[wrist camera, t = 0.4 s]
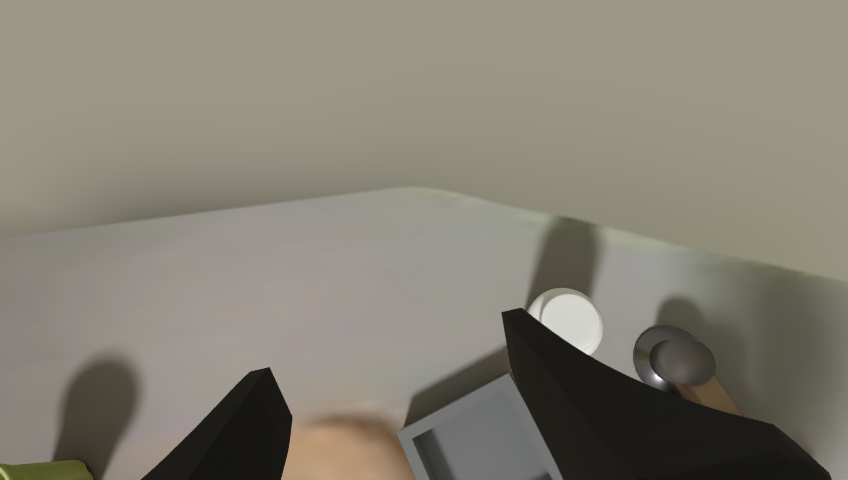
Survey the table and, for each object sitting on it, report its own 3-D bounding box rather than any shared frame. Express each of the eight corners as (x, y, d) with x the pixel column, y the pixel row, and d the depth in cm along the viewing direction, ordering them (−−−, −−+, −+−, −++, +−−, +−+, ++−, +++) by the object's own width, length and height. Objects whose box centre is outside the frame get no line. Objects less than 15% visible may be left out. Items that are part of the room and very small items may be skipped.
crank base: (723, 377, 34) (724, 377, 34) (661, 410, 34) (662, 410, 34) (678, 314, 36) (679, 314, 36) (619, 345, 36) (619, 345, 36)
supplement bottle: (593, 324, 37) (629, 313, 28) (559, 374, 36) (584, 380, 27) (541, 289, 39) (558, 266, 29) (508, 335, 38) (513, 328, 28)
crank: (633, 355, 36) (647, 355, 32) (683, 329, 36) (702, 326, 32) (754, 538, 31) (785, 559, 28) (812, 508, 31) (850, 525, 27)
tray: (574, 495, 34) (581, 506, 31) (459, 555, 34) (456, 572, 31) (507, 371, 37) (508, 373, 35) (403, 427, 37) (396, 432, 35)
